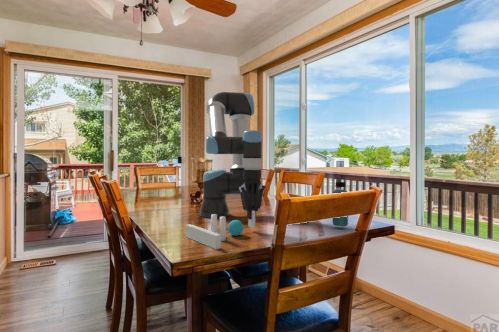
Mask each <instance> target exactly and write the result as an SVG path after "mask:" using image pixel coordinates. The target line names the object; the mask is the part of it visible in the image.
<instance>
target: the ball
mask: <svg viewBox="0 0 499 332" xmlns="http://www.w3.org/2000/svg"><path fill="white" fill-rule="evenodd" d="M227 230H228V232H229V234H230V235H231V236H234V237H235V236H236V237H237V236H240V235H241V234H242V233H243V232H244V224H243V222H242V221H240V220H239V219H233V220H232V221H230V222H229V223H228V226H227Z"/></svg>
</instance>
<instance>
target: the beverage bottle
mask: <svg viewBox="0 0 499 332" xmlns="http://www.w3.org/2000/svg"><path fill="white" fill-rule="evenodd" d="M334 186H335V187H336V188H338V189H334V190H333V192H332V194H333V193H341V192H348V191H347V190H346V189H343V188H346V181H336V182H335V185H334ZM339 188H342V189H339ZM332 225H333V226H336V227H347V226H348V225H349V215H348V216H347V217H340V218H332Z"/></svg>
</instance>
